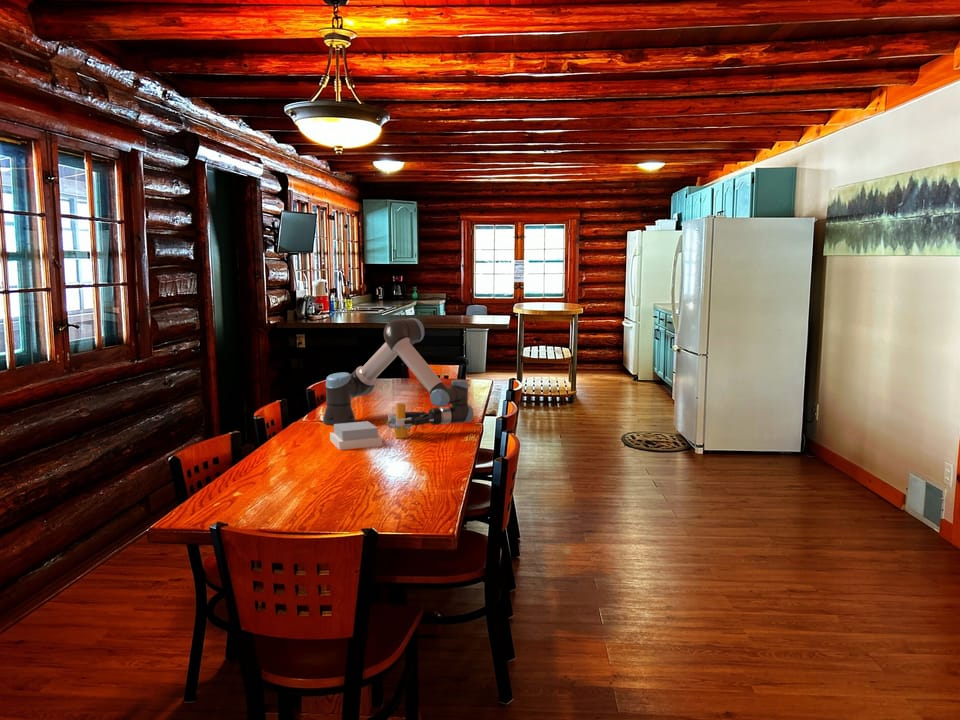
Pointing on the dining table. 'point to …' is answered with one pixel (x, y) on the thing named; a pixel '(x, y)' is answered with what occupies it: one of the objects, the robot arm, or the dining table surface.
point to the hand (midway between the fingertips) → (392, 419)
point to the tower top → (355, 430)
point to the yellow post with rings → (403, 429)
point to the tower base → (355, 442)
